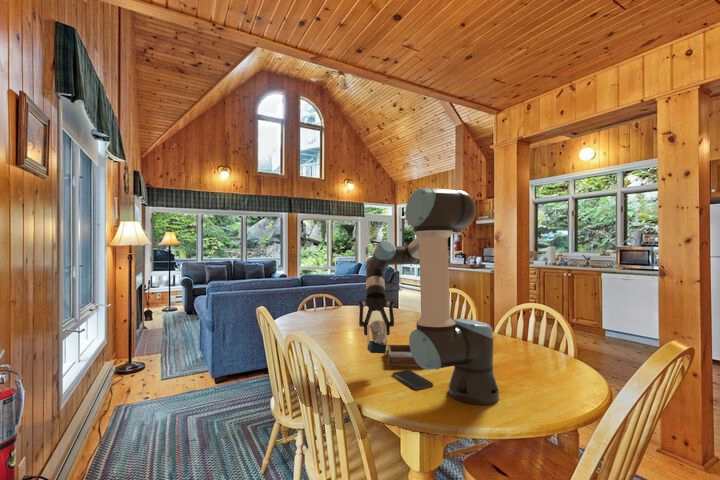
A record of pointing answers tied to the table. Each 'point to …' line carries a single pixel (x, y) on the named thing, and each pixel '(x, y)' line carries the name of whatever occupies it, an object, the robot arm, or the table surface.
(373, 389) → the table surface
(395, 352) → the walnut tray
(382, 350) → the watch
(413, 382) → the phone
